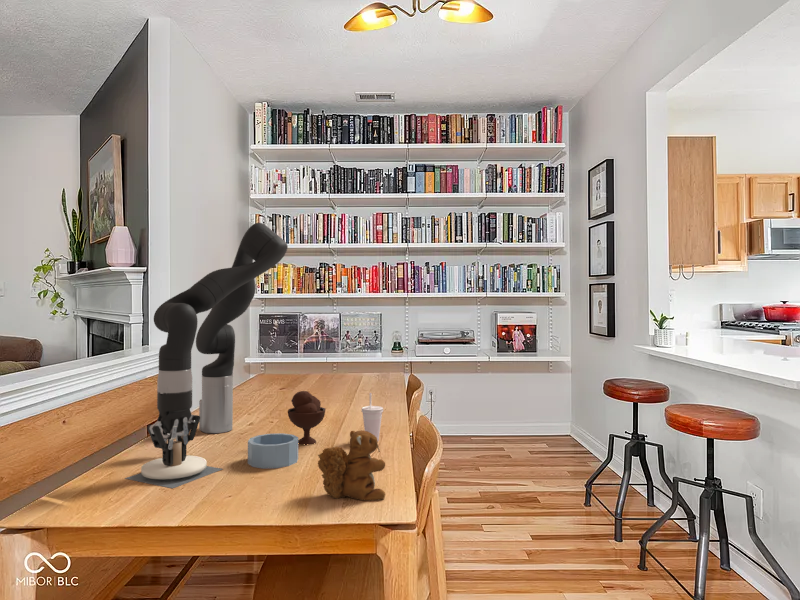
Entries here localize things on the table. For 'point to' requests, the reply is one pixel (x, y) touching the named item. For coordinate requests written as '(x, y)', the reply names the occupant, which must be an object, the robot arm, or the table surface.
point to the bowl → (273, 450)
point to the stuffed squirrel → (352, 468)
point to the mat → (174, 482)
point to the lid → (174, 465)
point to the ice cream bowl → (306, 414)
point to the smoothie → (372, 419)
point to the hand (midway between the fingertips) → (174, 462)
